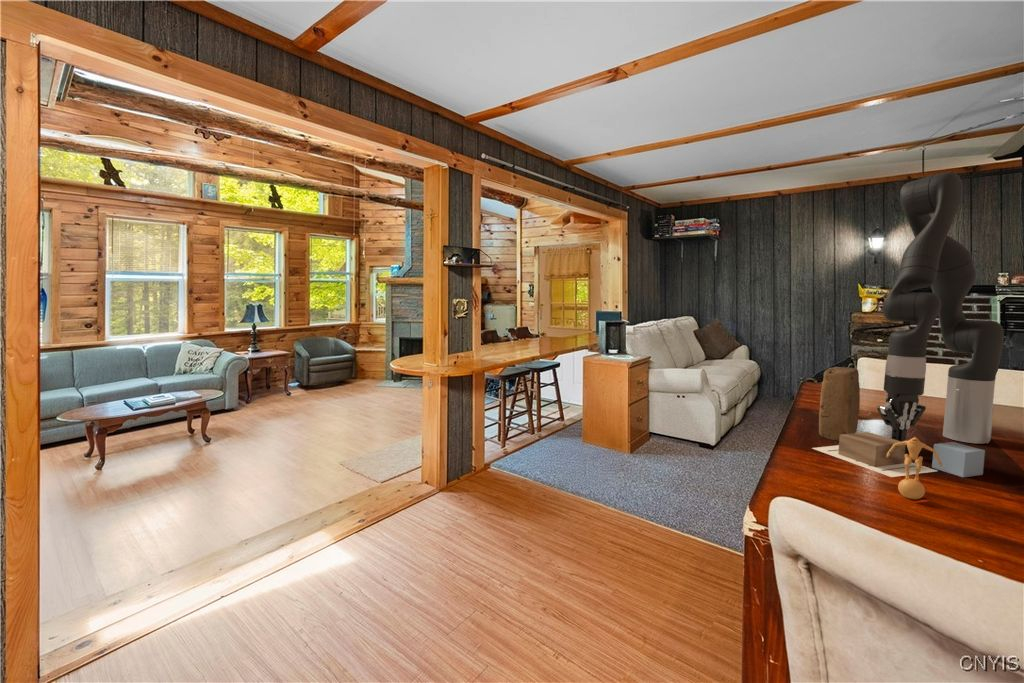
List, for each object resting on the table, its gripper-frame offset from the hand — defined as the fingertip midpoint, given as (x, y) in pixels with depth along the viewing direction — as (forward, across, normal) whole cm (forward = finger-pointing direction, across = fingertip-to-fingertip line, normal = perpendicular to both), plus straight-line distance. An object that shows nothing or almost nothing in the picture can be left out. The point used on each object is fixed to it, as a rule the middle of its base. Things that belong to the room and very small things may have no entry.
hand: (898, 442), depth 113 cm
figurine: (+4, +22, +18) cm, 29 cm away
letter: (+4, +9, 0) cm, 10 cm away
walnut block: (+3, +9, 0) cm, 10 cm away
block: (+4, 0, -16) cm, 16 cm away
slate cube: (+4, -2, +11) cm, 12 cm away
